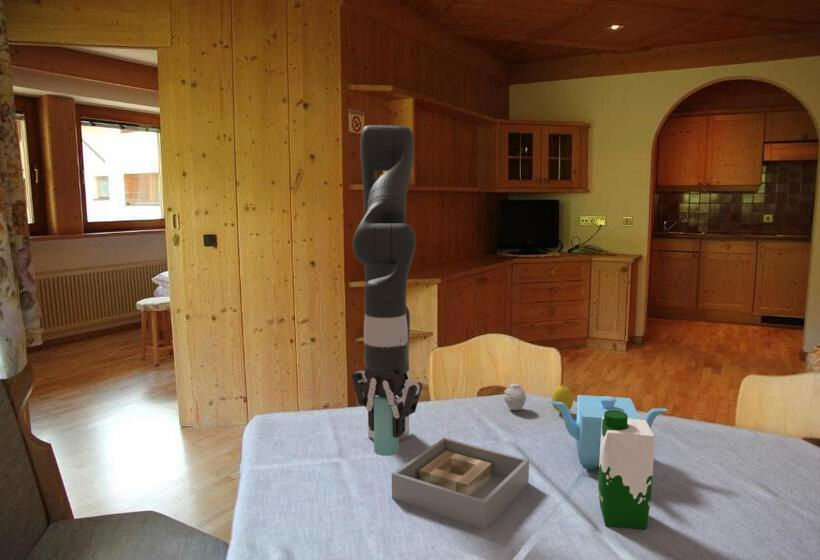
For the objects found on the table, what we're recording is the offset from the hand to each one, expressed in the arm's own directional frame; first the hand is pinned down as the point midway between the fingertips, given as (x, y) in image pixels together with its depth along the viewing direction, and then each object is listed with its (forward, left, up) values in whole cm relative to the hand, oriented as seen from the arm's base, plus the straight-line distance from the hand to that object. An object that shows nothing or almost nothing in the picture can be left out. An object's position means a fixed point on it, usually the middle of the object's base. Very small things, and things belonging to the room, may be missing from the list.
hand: (386, 432), depth 106 cm
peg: (0, 0, -3) cm, 3 cm away
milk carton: (+35, +26, -18) cm, 47 cm away
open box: (+6, +17, -18) cm, 25 cm away
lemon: (+8, +70, -18) cm, 73 cm away
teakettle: (+26, +47, -18) cm, 57 cm away
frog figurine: (-4, +66, -18) cm, 68 cm away
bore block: (+3, +20, -17) cm, 26 cm away
